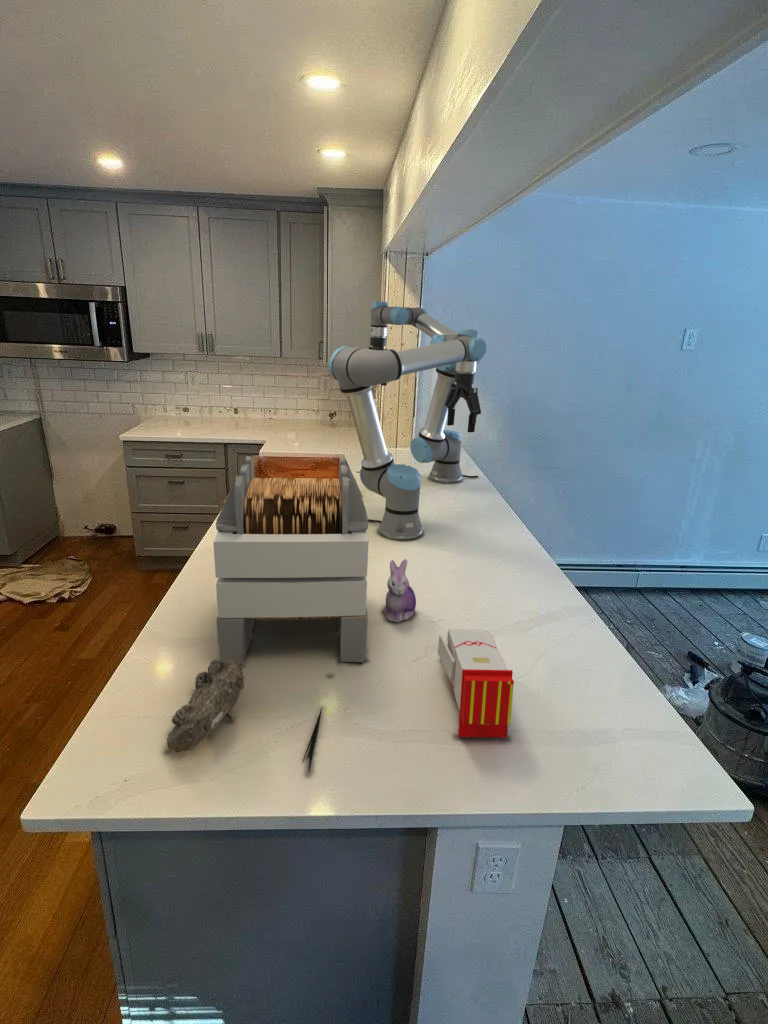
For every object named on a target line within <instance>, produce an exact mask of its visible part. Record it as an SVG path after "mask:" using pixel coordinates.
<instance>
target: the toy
mask: <svg viewBox="0 0 768 1024" xmlns="http://www.w3.org/2000/svg"><path fill="white" fill-rule="evenodd" d="M446 640H447V643H446V641H445V639H444V636H443V635H442V634H439V637H438V646H437V656H438V657H439V659H440V661H441V663H442V666H443V668H444V670H445V672H446V674H447V677H448V679H449V681H450V684H451V687H452V690H453V693H454V697H455V701H456V705H457V708H458V711H459V714H458V715H459V716H458V730H457V731H458V732H457V737H458V738H508V731H509V726H510V725H511V717H512V707H513V697H514V696H513V695H514V684H515V680H514V679H513V673H514V671H513V670H512V669H508V667H507V665H506V662H505V661H504V659H503V658H502V655H501V653H500V651H499V649H498V647H497V643H496V639H495V637H494V635H493V634H491V632H490V631H489V629H467V628H466V629H465V628H463V629H461V628H460V629H459V628H448V630H447V639H446Z"/></svg>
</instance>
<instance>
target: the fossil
mask: <svg viewBox="0 0 768 1024" xmlns="http://www.w3.org/2000/svg"><path fill="white" fill-rule="evenodd" d="M243 670H244V669H243V667H242V665H241V664H236V662H235V661H234V660H232V659H231V660H228V659H227V660H224V661H223V662H222V661H220V660H217V659H212V660H211V661H210V663H209V665H208V666H207V671H201V672H199V673H198V674H197V675H196V676H195V680H194V684H195V685H194V687H195V689H194V690H193V693H192V694H191V697H190V698H189V700H188V704H184V705H182V706H181V707H180V709H177V710H176V711H175V713H174V715H173V716H172V718H171V723H172V724H173V727H172V730H171V731H170V732H168V734H167V738H166V741H167V742H166V745H167V749H168V750H169V751H173V752H174V753H176V754H178V753H182V752H188V751H189V752H192V751H193V750H195V748H196V747H197V746H199V744H200V743H201V742H203V741H204V740H205V739H206V738H207V737H208V736H209V735H210V734H211V733H212V732H214V730H215V729H217V727H218V726H219V724H220V722H221V721H222V720H223V719H224V718H225V716H226V717H227V719H229V720H233V717H232V715H230V714H229V710H230V709H231V708H234V706H235V704H236V703H237V702H238V699H239V697H240V695H241V693H242V691H243V690H245V689H244V688H245V675H244V671H243Z"/></svg>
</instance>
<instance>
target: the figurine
mask: <svg viewBox="0 0 768 1024" xmlns="http://www.w3.org/2000/svg"><path fill="white" fill-rule="evenodd" d="M407 567H408V559H406V558H404V559H403V560H402V561H401V563H400V565H399V566H398V565H397V563H396V562H395V561H394V560H393V559H391V560H390V561H389V570H390V576H389V578H388V579H387V589H388V591H387V592H386V594H385V595H386V596H385V607H384V615H385V616H386V620H387V621H391V622H395V623H400V622H402V621H406V620H409V619H410V618H411V617H413V616H414V615H415V610H416V606H417V597H416V593H415V591H414V590H413V587H411V586H410V582H409V579H408V577H407V574H406V571H407Z"/></svg>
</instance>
